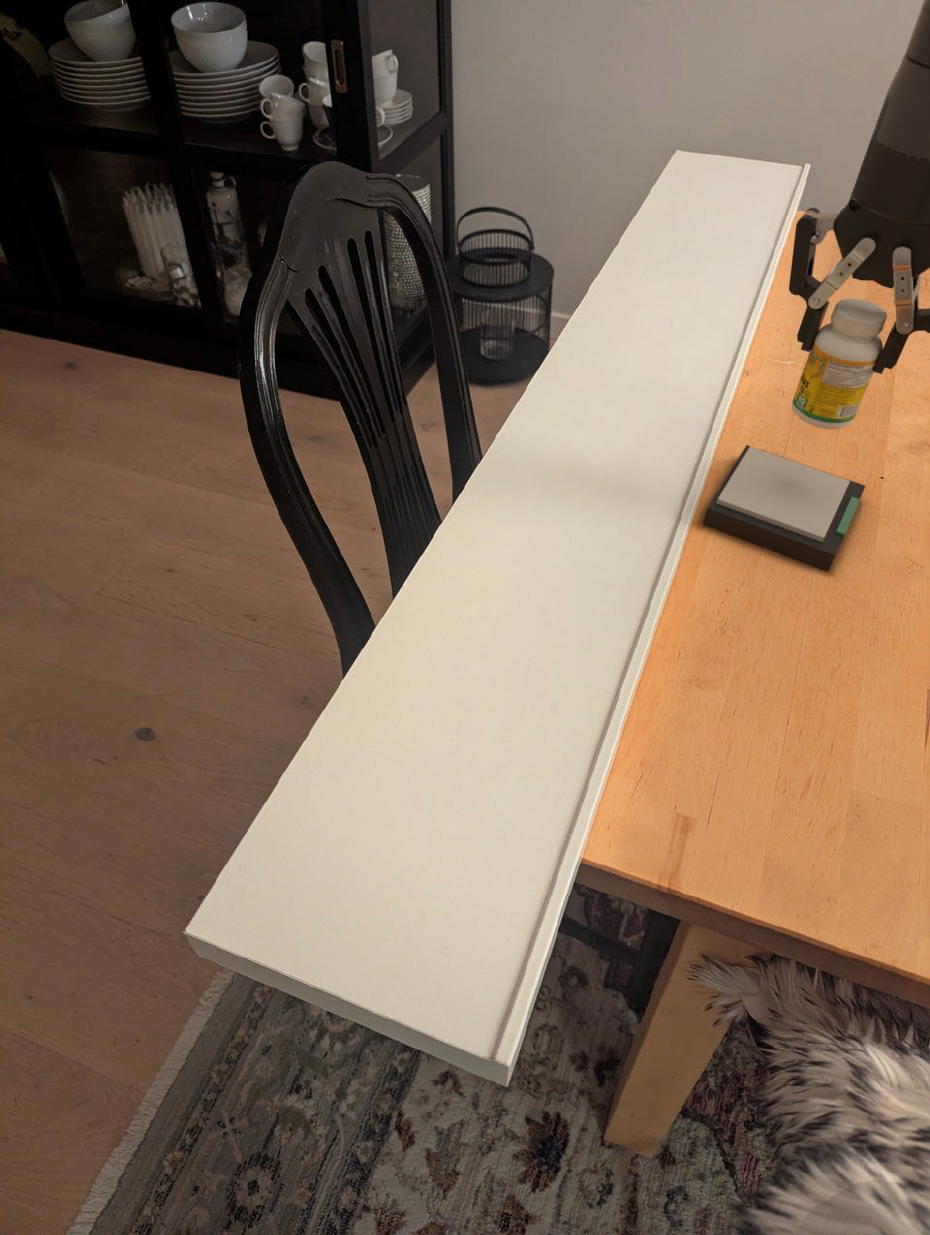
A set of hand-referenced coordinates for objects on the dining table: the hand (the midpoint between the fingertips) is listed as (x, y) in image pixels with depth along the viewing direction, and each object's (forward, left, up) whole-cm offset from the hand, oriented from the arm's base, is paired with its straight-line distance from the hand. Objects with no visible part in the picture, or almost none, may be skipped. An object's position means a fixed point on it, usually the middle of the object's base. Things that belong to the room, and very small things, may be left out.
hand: (843, 357), depth 73 cm
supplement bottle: (0, 0, -6) cm, 6 cm away
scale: (0, 0, -17) cm, 17 cm away
